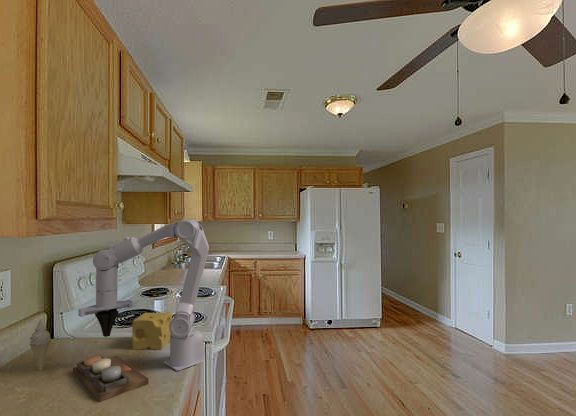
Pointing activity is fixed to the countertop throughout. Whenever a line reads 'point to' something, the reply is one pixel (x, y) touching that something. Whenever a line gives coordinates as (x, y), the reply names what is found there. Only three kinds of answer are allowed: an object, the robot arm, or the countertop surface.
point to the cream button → (101, 365)
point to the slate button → (111, 373)
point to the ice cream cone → (40, 344)
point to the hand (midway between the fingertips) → (106, 335)
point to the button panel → (110, 388)
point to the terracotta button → (91, 360)
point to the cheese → (151, 331)
